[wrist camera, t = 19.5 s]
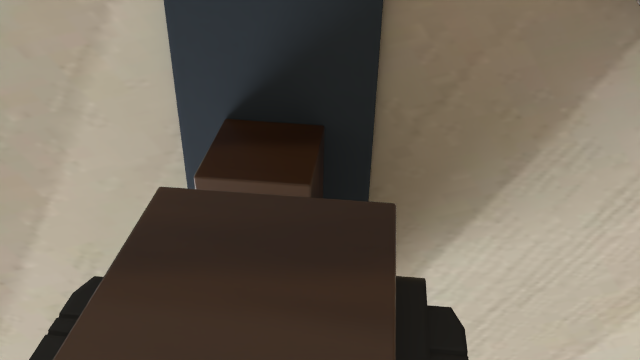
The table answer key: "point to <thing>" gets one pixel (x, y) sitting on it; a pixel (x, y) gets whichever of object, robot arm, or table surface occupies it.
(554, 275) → the table surface
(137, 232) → the tile
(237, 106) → the mat
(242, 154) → the tile
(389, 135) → the table surface
